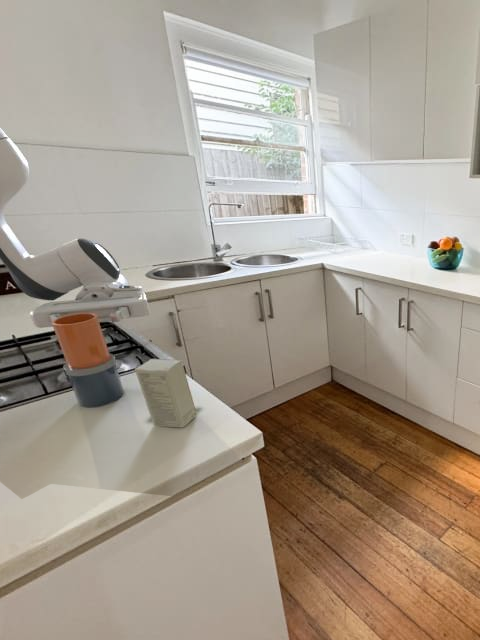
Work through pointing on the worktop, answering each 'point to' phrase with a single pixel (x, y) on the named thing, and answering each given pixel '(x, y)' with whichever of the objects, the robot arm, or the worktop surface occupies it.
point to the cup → (81, 340)
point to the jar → (96, 383)
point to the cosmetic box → (166, 392)
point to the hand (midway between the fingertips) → (87, 321)
